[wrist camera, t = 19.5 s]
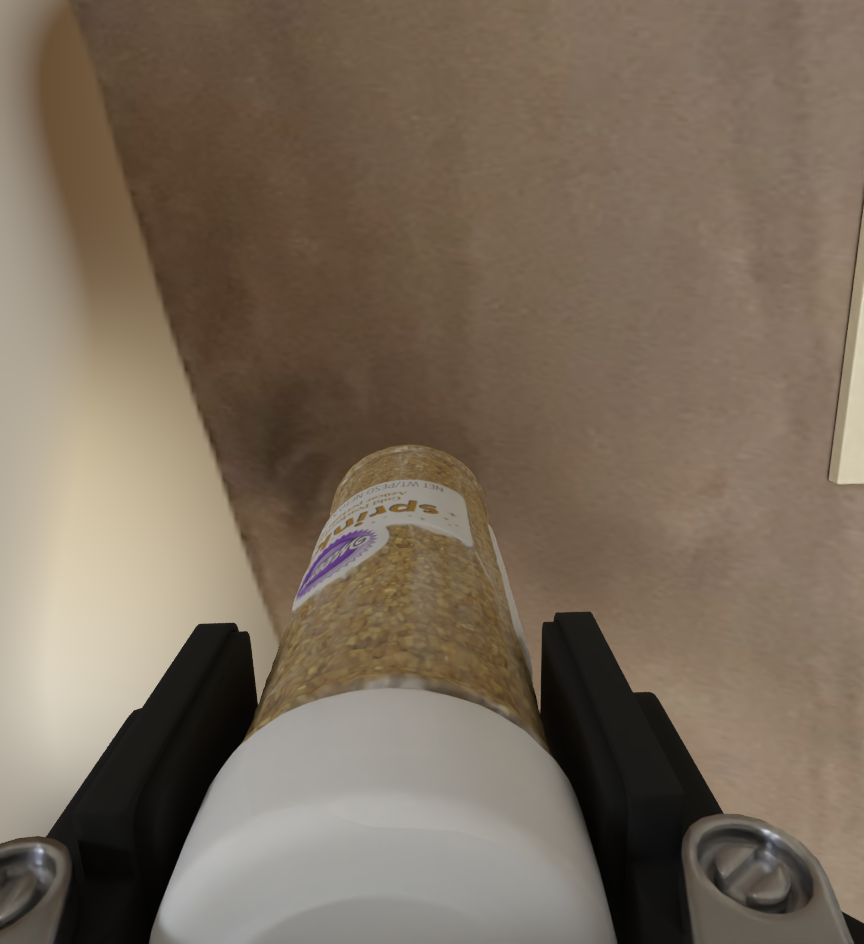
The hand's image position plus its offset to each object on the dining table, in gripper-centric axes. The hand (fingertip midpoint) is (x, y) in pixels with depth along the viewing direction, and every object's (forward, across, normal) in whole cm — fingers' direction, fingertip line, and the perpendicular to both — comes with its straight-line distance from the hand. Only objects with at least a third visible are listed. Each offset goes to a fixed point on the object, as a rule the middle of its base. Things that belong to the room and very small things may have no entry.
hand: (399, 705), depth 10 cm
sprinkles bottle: (+9, 0, 0) cm, 9 cm away
